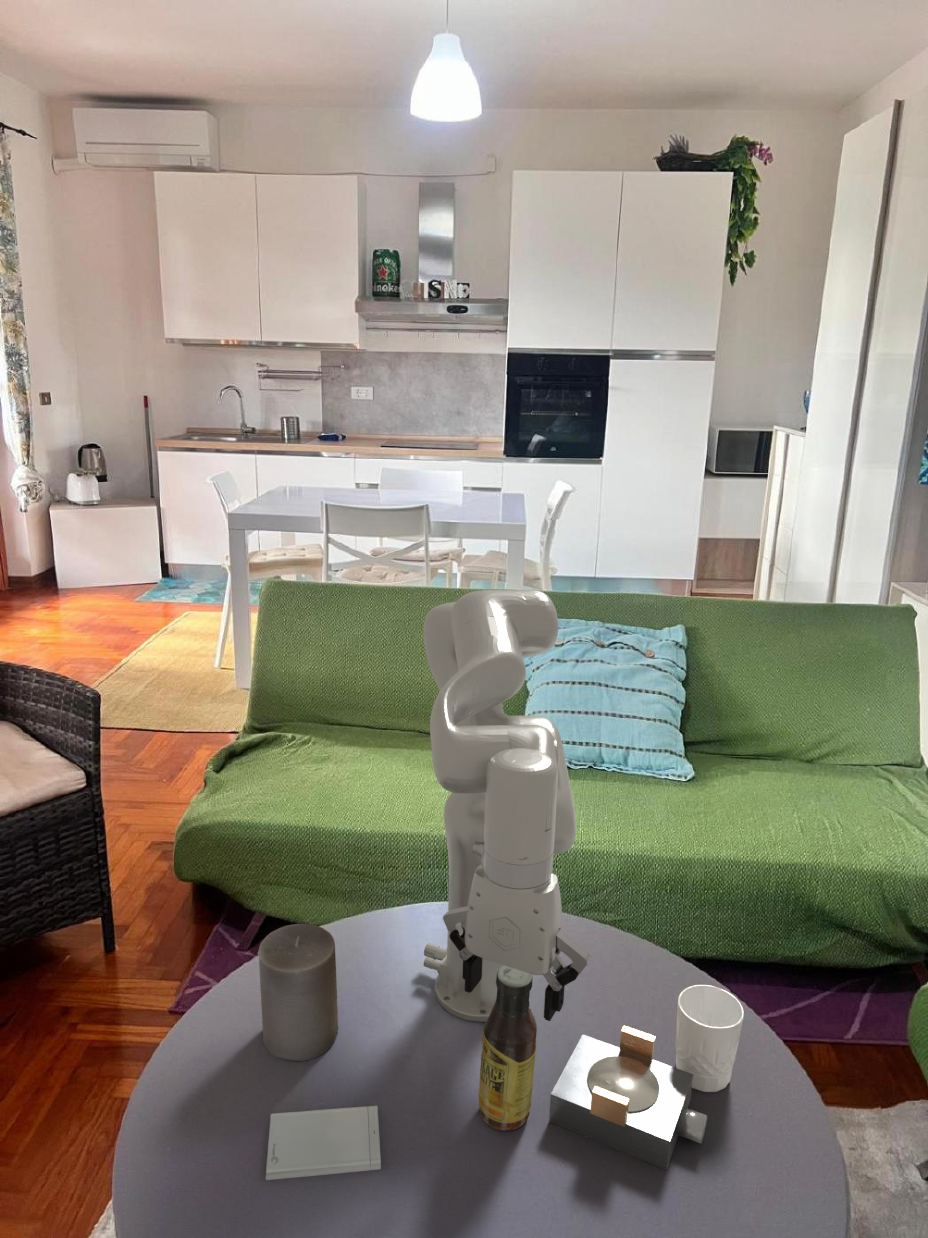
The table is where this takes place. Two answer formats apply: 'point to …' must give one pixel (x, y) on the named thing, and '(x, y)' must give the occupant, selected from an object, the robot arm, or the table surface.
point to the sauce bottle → (508, 1053)
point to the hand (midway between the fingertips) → (511, 999)
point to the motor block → (626, 1098)
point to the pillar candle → (298, 991)
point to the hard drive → (323, 1142)
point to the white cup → (707, 1035)
